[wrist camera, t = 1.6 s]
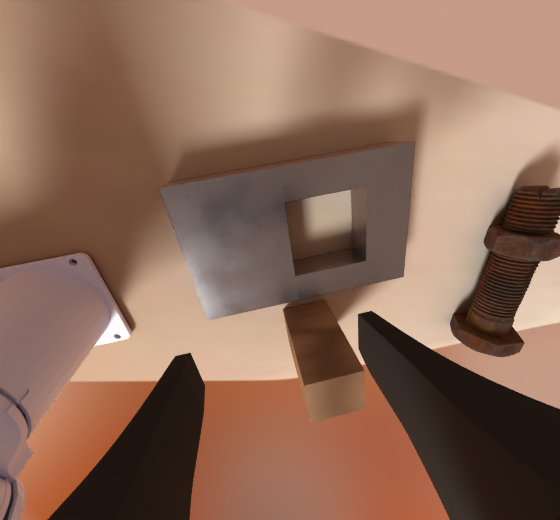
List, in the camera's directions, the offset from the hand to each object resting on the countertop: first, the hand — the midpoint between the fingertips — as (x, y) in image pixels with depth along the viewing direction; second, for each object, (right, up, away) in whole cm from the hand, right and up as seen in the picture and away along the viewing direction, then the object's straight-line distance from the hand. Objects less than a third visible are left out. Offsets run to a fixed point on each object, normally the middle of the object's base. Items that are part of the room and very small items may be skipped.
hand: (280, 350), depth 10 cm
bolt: (+20, +4, +14) cm, 25 cm away
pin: (+3, -2, +13) cm, 14 cm away
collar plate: (+1, +6, +9) cm, 11 cm away
